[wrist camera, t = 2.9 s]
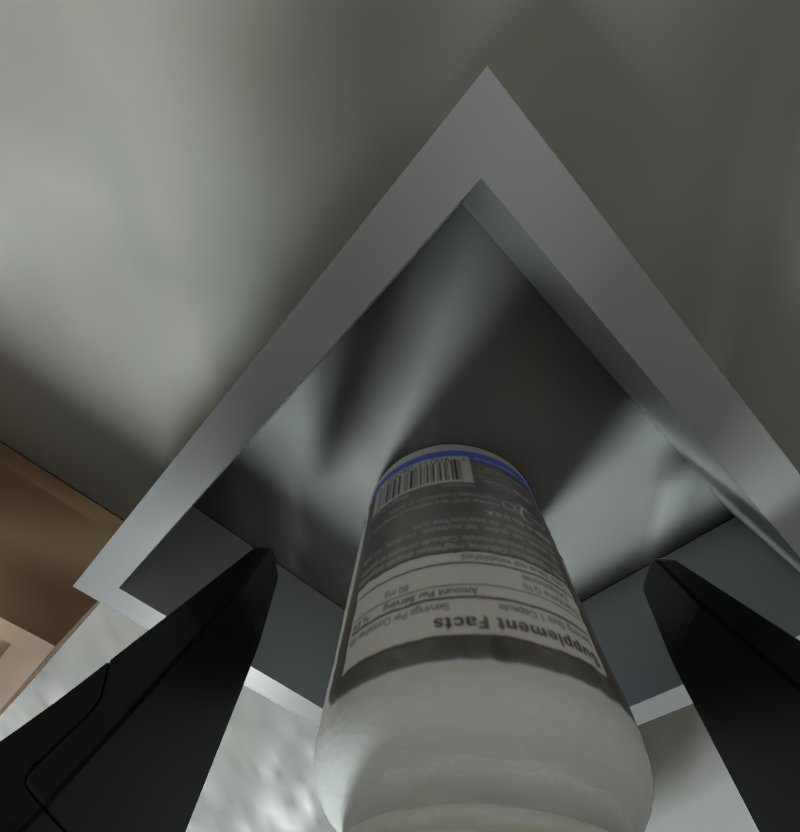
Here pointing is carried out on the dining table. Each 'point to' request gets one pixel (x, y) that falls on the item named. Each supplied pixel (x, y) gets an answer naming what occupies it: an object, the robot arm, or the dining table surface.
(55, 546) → the walnut bin
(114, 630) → the dining table surface
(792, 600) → the bin
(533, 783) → the pill bottle
